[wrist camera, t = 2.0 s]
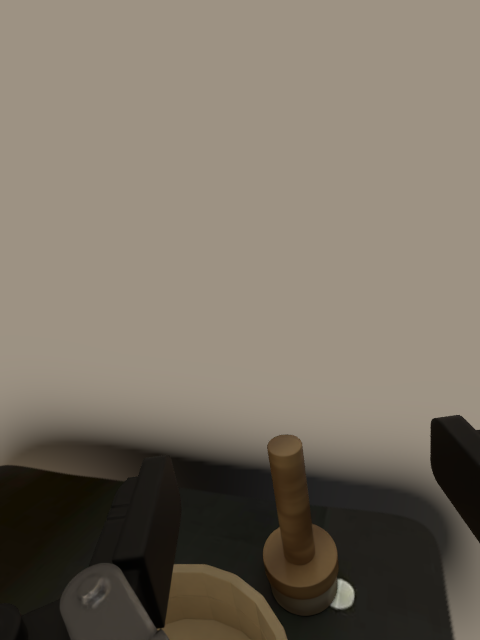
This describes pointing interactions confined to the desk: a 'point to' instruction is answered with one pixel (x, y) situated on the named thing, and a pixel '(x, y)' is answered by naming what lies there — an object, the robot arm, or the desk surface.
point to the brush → (297, 537)
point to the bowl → (217, 607)
